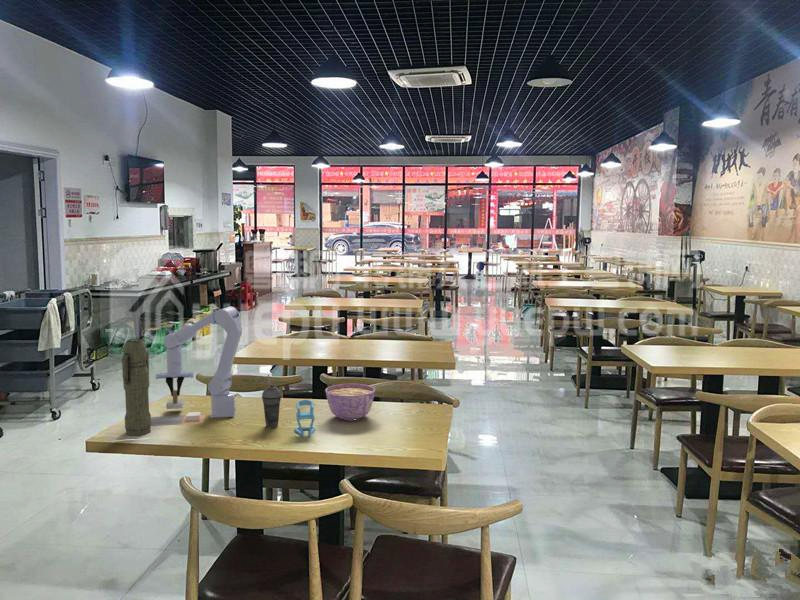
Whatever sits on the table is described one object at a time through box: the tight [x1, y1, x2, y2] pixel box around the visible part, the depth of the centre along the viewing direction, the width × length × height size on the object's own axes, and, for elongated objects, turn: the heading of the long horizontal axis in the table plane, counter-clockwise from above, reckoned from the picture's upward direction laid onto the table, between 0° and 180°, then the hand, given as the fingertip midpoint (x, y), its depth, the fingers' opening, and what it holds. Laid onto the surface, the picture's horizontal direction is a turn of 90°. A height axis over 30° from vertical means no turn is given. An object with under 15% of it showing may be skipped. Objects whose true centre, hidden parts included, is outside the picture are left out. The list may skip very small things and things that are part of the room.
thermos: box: [121, 338, 152, 437], centre depth 238 cm, size 9×12×35 cm
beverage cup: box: [261, 374, 282, 429], centre depth 249 cm, size 7×7×20 cm
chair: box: [294, 399, 316, 438], centre depth 242 cm, size 8×8×12 cm
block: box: [186, 411, 202, 421], centre depth 257 cm, size 5×5×2 cm
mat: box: [151, 413, 206, 427], centre depth 255 cm, size 23×12×1 cm, turn 102°
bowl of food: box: [324, 383, 376, 421], centre depth 261 cm, size 20×20×12 cm
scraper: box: [166, 389, 185, 410], centre depth 266 cm, size 6×8×6 cm
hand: (175, 395), depth 266 cm, fingers closed on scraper
